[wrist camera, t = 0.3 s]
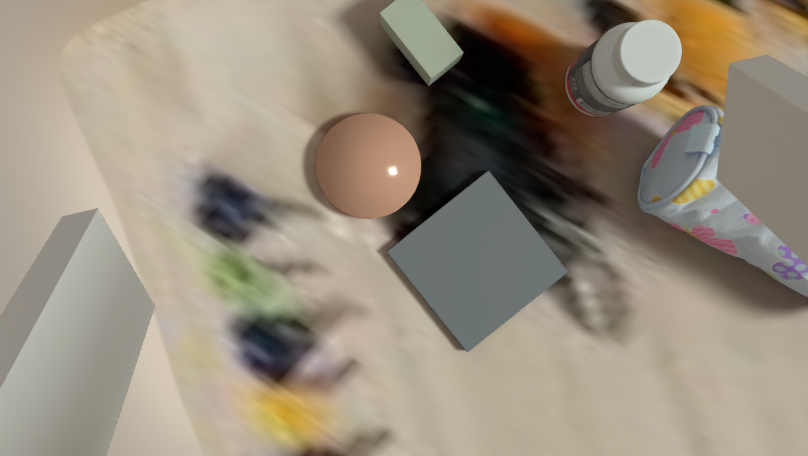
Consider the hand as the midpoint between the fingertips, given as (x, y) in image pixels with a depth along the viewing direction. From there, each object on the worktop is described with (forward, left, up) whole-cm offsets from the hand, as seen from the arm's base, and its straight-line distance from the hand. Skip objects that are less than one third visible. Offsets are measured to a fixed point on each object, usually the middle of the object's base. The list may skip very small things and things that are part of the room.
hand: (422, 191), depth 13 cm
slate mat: (-8, -2, -35) cm, 36 cm away
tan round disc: (+3, 0, -35) cm, 35 cm away
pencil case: (-19, -21, -35) cm, 45 cm away
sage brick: (+8, -9, -35) cm, 37 cm away
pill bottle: (-3, -18, -35) cm, 40 cm away
